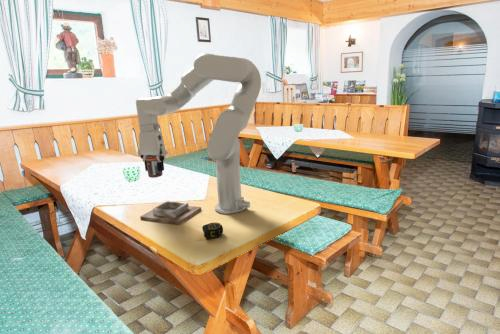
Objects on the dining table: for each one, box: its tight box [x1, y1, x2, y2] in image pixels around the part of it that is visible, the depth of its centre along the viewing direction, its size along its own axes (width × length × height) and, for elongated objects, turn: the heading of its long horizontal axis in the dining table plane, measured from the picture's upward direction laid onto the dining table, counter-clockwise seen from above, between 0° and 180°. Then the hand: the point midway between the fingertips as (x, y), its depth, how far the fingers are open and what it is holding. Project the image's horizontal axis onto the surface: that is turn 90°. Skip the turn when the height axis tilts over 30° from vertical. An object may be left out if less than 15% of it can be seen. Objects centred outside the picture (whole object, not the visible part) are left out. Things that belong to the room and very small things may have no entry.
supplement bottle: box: [146, 155, 163, 179], centre depth 149 cm, size 6×6×11 cm
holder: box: [139, 200, 202, 226], centre depth 142 cm, size 18×16×4 cm
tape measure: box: [201, 222, 224, 240], centre depth 121 cm, size 7×7×4 cm
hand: (154, 170), depth 150 cm, fingers closed on supplement bottle, 6 cm apart
